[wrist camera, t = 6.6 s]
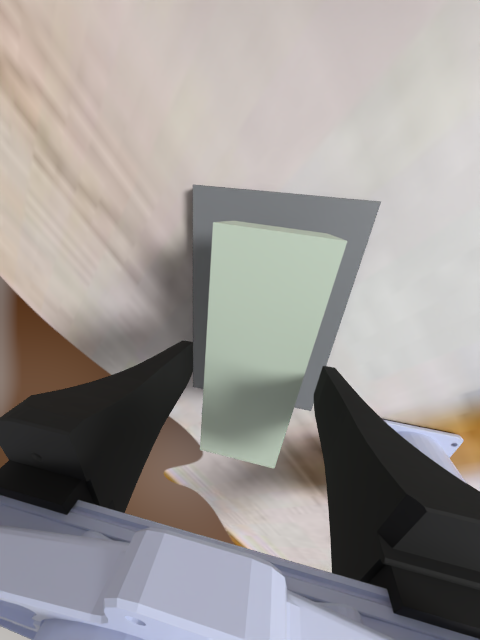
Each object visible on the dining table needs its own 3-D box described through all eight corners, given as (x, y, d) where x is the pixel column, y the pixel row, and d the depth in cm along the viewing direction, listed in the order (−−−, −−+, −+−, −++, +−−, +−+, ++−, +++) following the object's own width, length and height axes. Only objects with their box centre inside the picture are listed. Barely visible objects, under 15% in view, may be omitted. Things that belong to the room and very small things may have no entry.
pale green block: (233, 220, 12) (213, 222, 8) (327, 233, 11) (347, 241, 8) (216, 403, 18) (199, 449, 15) (275, 417, 18) (274, 468, 14)
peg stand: (309, 402, 22) (315, 444, 18) (196, 380, 23) (179, 414, 19) (374, 202, 14) (411, 197, 10) (197, 186, 16) (168, 175, 12)
